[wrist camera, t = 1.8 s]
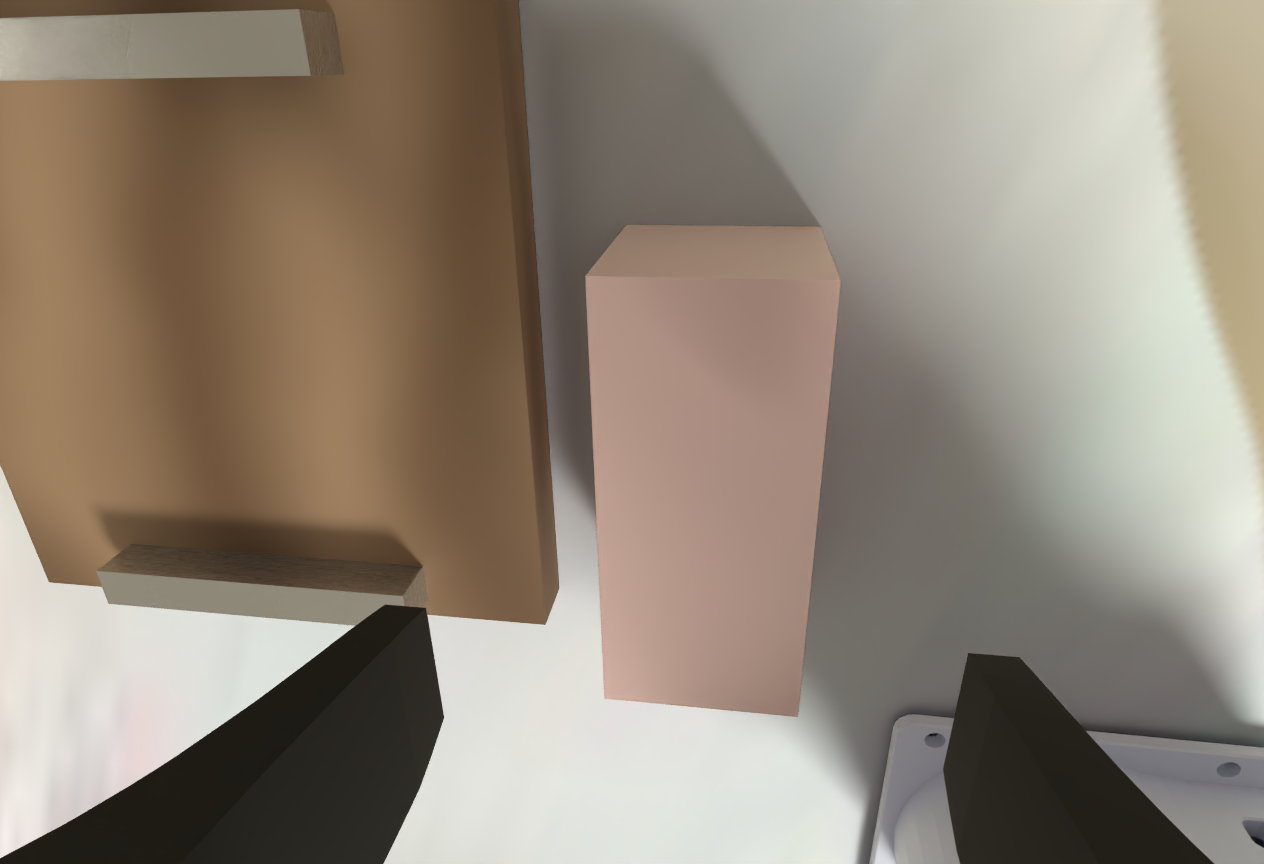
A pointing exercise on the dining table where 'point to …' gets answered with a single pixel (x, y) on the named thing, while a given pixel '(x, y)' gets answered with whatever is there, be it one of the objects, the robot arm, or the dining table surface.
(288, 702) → the robot arm
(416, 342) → the display stand
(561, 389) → the dining table surface
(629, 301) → the pink rectangular block
